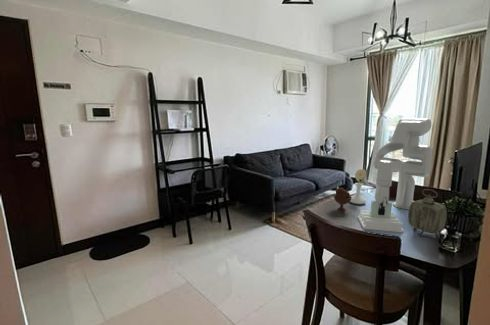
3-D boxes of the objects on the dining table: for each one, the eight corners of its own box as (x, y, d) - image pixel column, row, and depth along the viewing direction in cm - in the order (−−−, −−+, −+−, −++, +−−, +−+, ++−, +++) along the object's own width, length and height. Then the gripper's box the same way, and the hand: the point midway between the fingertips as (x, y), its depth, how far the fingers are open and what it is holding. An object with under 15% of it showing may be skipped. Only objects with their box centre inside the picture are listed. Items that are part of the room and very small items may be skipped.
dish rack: (394, 220, 155) (395, 212, 154) (403, 232, 140) (404, 223, 139) (357, 217, 159) (358, 210, 158) (363, 228, 144) (364, 220, 143)
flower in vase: (345, 200, 190) (348, 166, 185) (360, 199, 191) (363, 166, 186) (355, 206, 177) (358, 170, 172) (370, 206, 178) (374, 170, 173)
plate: (388, 221, 149) (390, 201, 147) (389, 223, 147) (392, 203, 145) (369, 220, 151) (371, 200, 149) (370, 221, 149) (372, 201, 147)
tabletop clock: (443, 238, 133) (450, 191, 128) (435, 243, 128) (442, 194, 123) (412, 228, 145) (418, 184, 140) (404, 232, 140) (410, 187, 135)
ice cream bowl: (342, 214, 164) (344, 191, 161) (329, 208, 174) (330, 186, 171) (354, 211, 169) (355, 189, 166) (340, 205, 179) (342, 184, 176)
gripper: (372, 178, 153) (369, 208, 157) (380, 186, 138) (376, 218, 141) (386, 179, 151) (383, 209, 155) (396, 187, 136) (392, 220, 140)
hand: (380, 213), depth 148 cm, fingers closed on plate, 2 cm apart
